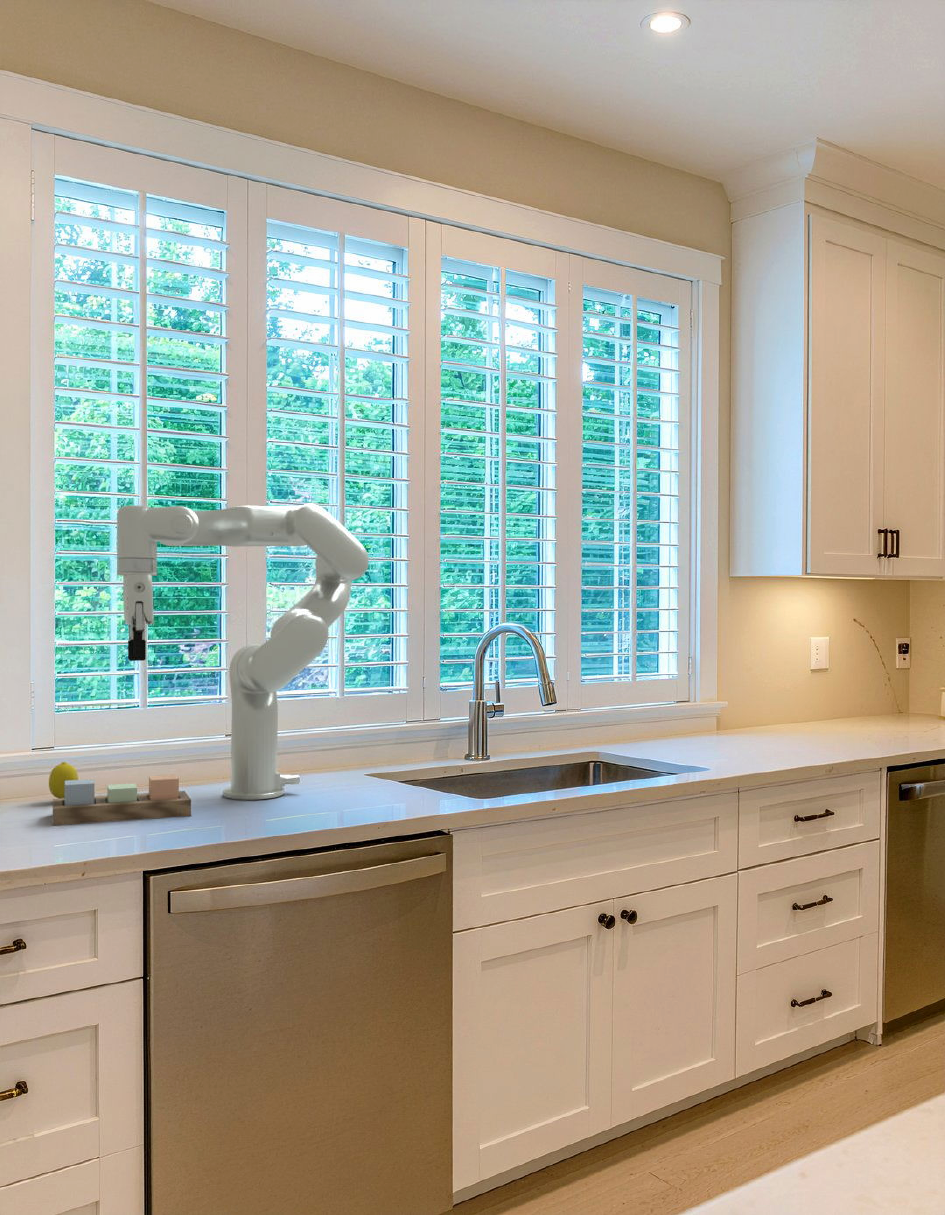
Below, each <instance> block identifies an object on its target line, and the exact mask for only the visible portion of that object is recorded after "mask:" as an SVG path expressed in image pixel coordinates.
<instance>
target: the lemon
mask: <svg viewBox="0 0 945 1215" xmlns="http://www.w3.org/2000/svg"><path fill="white" fill-rule="evenodd" d="M67 780H79V774H78V771H77V770H76V768H75V767H74V766H73V765H72V764H69V763H68V762H66V761H62V762H61V763H60V764H58V765H56V766H55V767H54V768H53V769H52V770H51V771H50V774H49V777H48V789H49V791H50V794H51V795H53V797H54V798H56V799H57V798H65V781H67Z"/></svg>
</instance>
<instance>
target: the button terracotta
mask: <svg viewBox="0 0 945 1215" xmlns="http://www.w3.org/2000/svg"><path fill="white" fill-rule="evenodd" d="M179 787H180V779H179V777H178V775H177V774H165V775H149V776H148V793H149V800H164V799H179V791H180V790H179V789H180V788H179Z"/></svg>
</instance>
